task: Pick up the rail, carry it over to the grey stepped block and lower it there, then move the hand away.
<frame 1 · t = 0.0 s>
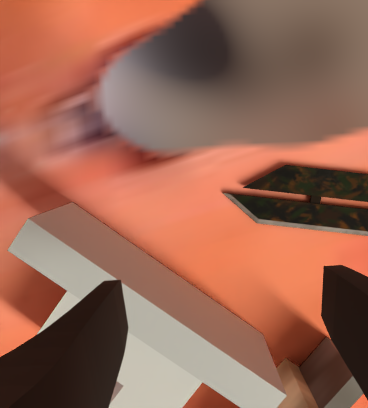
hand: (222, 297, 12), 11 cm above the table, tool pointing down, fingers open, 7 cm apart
grey stepped block: (125, 329, 23), on the table
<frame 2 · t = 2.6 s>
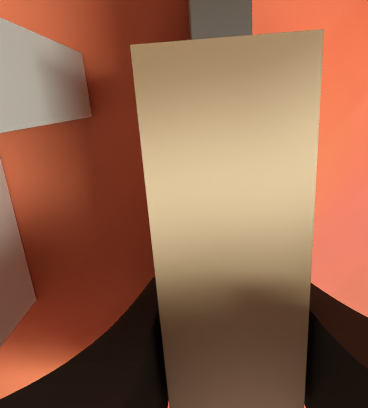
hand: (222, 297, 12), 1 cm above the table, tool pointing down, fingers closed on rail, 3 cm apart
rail: (216, 234, 13), on the table, touching gripper
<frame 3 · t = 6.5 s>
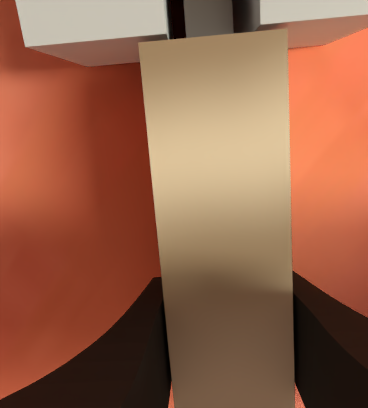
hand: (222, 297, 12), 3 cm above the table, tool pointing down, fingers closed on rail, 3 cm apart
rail: (214, 227, 14), point 1 cm above the table, tilted 7°, touching gripper
when the fingers open (3 cm above the table, at t = 7.7 s): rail stays where it is, on the table.
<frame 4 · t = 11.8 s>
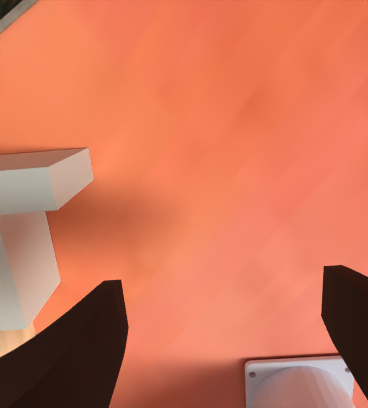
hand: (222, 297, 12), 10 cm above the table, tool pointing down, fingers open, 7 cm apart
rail: (21, 361, 25), on the table
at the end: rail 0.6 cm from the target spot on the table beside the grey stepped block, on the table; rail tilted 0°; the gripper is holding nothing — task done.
